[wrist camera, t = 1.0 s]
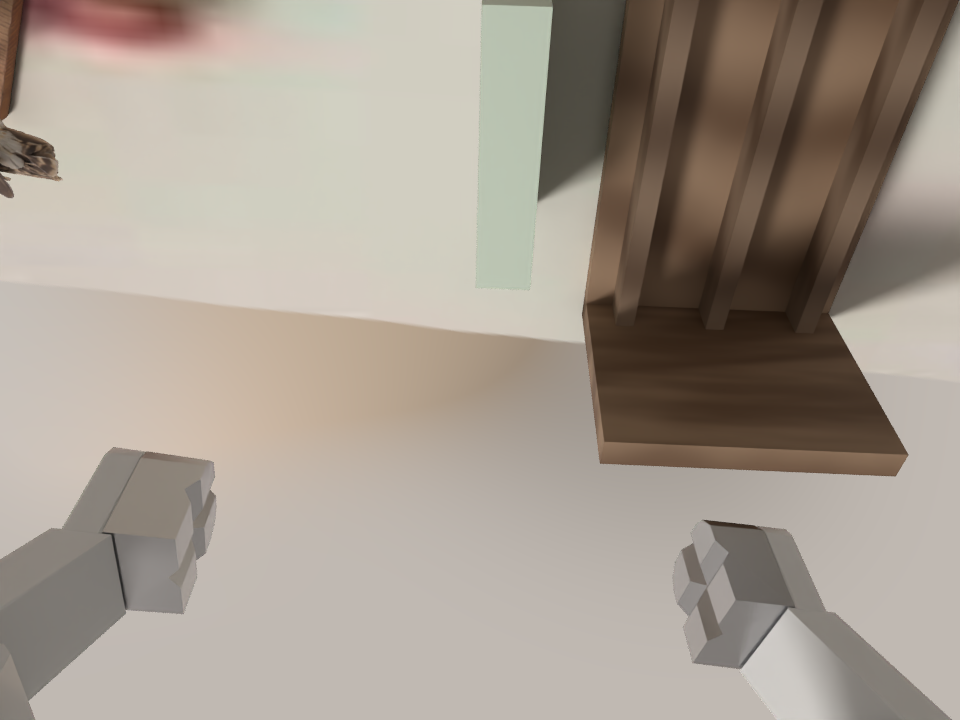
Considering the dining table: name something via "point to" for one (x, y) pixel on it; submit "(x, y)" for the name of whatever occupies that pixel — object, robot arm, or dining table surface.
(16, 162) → the stuffed bird
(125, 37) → the dining table surface
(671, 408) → the wooden book rack
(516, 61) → the pale green rectangular block
